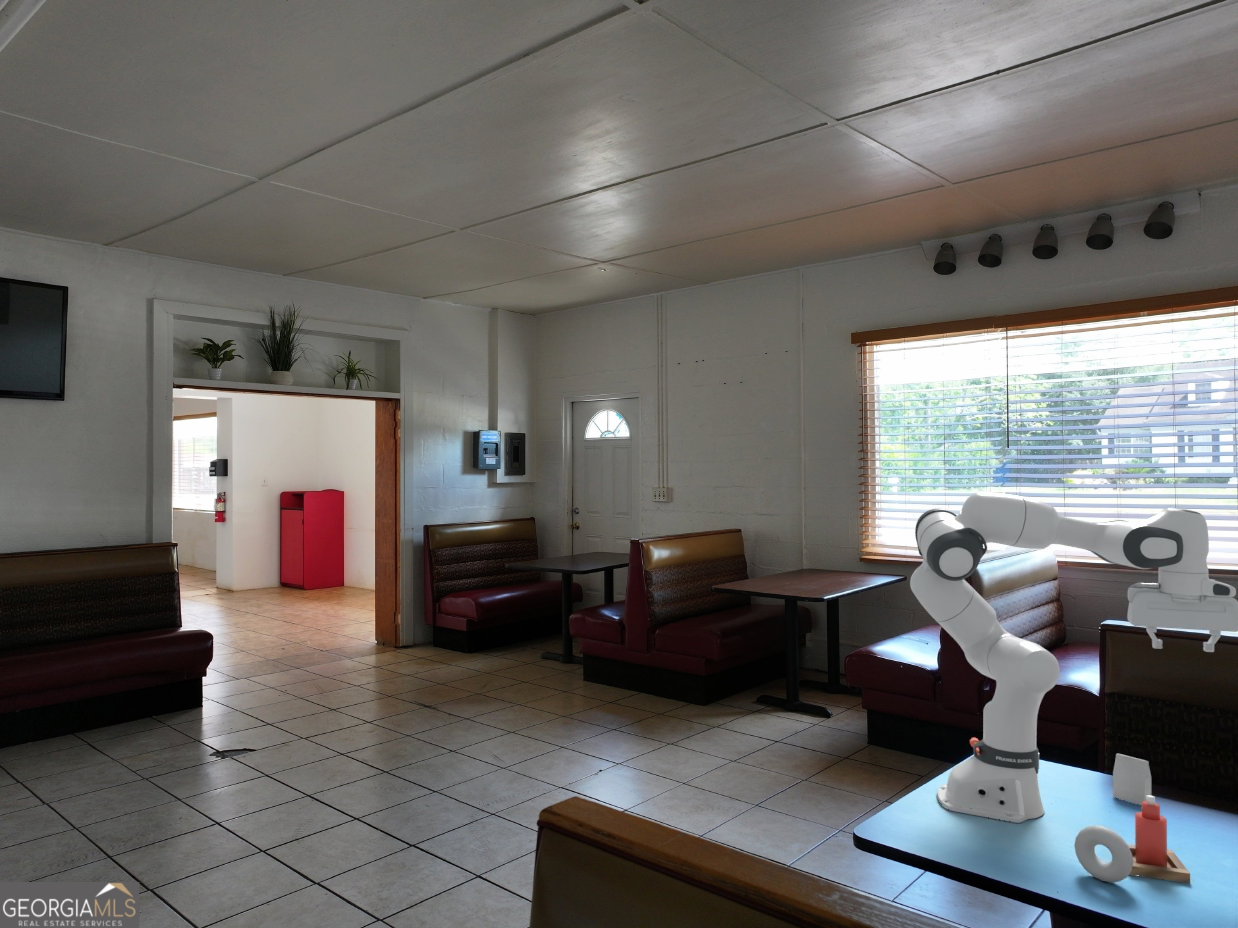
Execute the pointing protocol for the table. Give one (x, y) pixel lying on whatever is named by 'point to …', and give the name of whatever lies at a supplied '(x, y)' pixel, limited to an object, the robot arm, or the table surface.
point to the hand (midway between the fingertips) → (1182, 649)
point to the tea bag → (1131, 779)
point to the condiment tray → (1161, 868)
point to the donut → (1115, 844)
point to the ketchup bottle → (1150, 834)
